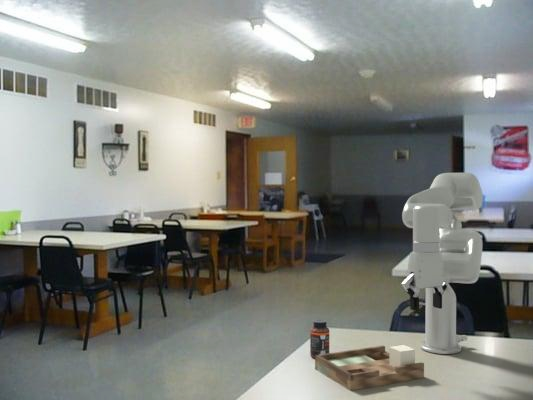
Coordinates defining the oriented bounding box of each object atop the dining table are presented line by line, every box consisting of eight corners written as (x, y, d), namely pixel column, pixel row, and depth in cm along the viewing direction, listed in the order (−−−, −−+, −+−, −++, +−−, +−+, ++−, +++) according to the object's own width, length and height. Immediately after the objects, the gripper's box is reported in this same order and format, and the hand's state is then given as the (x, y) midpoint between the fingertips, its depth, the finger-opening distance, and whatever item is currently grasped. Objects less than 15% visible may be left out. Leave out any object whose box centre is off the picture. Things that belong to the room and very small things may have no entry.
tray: (383, 358, 173) (383, 345, 173) (423, 377, 156) (424, 363, 155) (315, 368, 163) (315, 355, 163) (350, 390, 146) (350, 375, 146)
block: (403, 362, 161) (403, 344, 161) (415, 367, 157) (415, 349, 157) (389, 364, 159) (389, 346, 159) (400, 369, 155) (400, 351, 155)
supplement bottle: (328, 360, 171) (328, 323, 171) (309, 359, 172) (309, 322, 172) (330, 354, 177) (330, 319, 177) (311, 353, 178) (311, 318, 178)
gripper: (441, 245, 168) (440, 303, 168) (393, 248, 161) (393, 309, 161) (459, 247, 161) (458, 308, 161) (410, 250, 154) (409, 314, 154)
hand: (426, 308), depth 161 cm, fingers open, 7 cm apart
